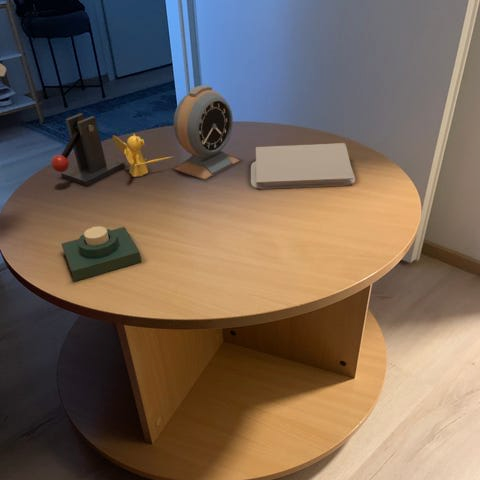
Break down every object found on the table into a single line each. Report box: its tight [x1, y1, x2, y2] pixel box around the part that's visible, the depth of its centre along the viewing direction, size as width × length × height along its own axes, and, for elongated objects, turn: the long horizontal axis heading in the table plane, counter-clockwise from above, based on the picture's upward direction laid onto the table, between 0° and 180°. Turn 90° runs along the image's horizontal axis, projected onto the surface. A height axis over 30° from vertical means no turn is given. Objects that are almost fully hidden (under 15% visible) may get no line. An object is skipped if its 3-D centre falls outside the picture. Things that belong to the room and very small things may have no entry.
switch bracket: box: [60, 112, 126, 187], centre depth 117 cm, size 12×9×13 cm
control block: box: [61, 226, 143, 282], centre depth 91 cm, size 12×10×4 cm
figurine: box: [111, 132, 175, 178], centre depth 117 cm, size 12×12×9 cm
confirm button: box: [83, 226, 109, 246], centre depth 89 cm, size 4×4×2 cm
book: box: [250, 142, 356, 190], centre depth 113 cm, size 15×23×4 cm, turn 89°
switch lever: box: [51, 117, 86, 173], centre depth 113 cm, size 13×4×4 cm
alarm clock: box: [173, 85, 241, 181], centre depth 115 cm, size 14×10×18 cm
